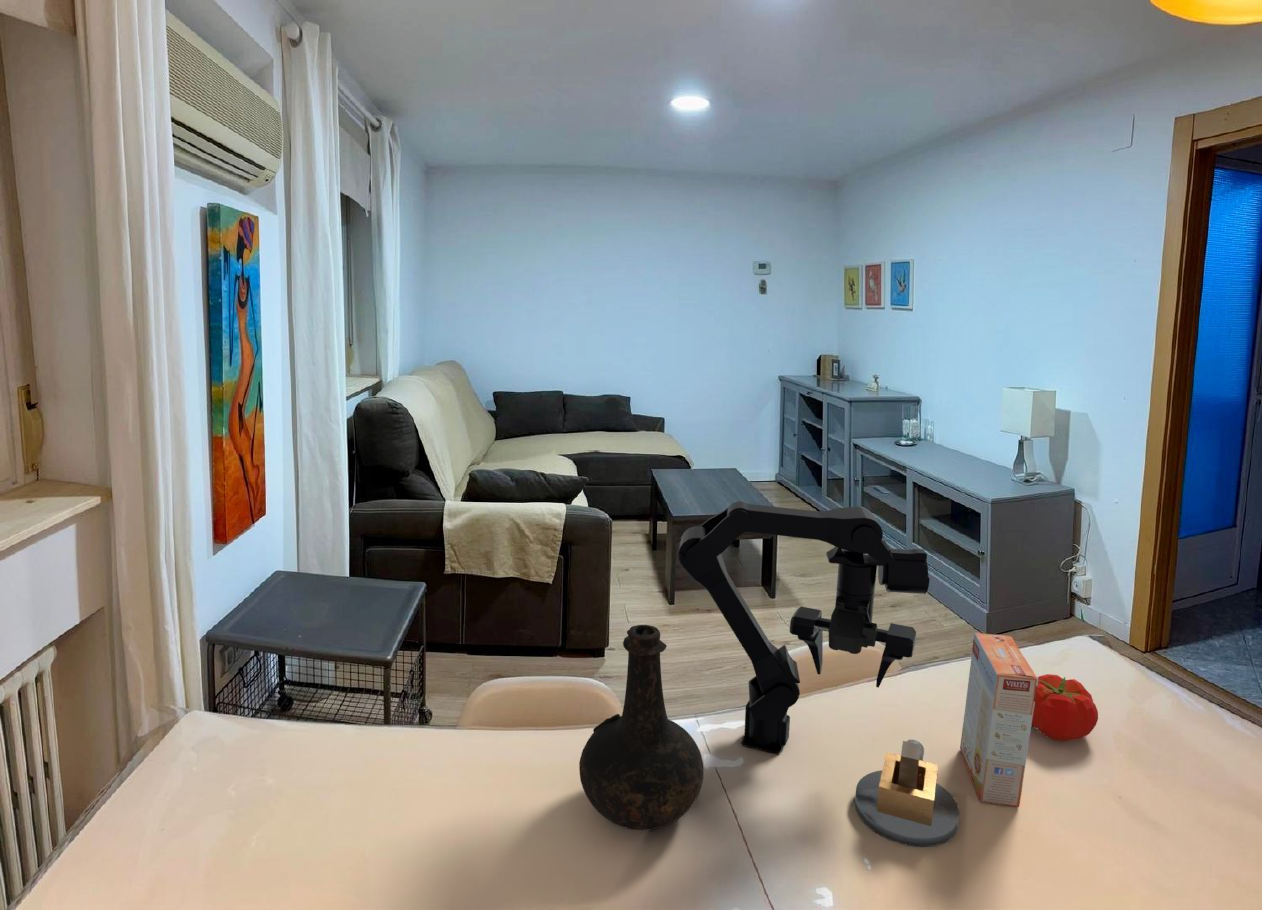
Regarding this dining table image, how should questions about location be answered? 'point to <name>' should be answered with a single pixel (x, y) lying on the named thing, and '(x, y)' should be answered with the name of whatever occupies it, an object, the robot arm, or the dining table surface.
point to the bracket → (907, 804)
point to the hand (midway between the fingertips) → (848, 679)
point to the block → (909, 764)
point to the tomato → (1063, 709)
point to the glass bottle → (641, 749)
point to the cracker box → (998, 718)
